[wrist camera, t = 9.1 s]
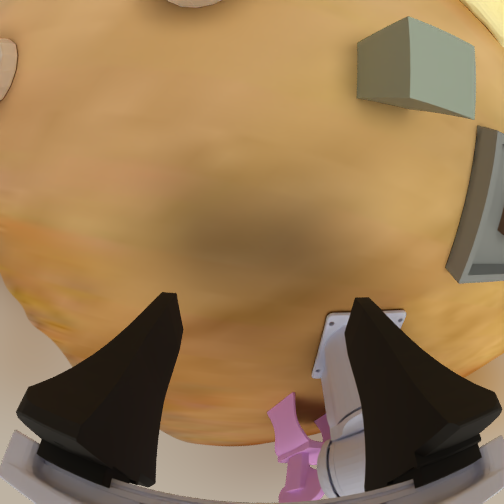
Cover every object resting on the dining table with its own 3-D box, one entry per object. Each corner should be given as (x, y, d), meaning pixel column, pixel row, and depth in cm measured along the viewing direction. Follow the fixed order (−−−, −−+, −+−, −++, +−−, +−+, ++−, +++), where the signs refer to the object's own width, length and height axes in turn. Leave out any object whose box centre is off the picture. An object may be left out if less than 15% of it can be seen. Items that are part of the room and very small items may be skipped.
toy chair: (314, 424, 35) (321, 513, 22) (262, 414, 33) (261, 514, 20) (351, 399, 31) (369, 500, 18) (297, 387, 29) (305, 507, 16)
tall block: (409, 109, 15) (474, 119, 8) (356, 98, 15) (409, 97, 9) (410, 57, 13) (474, 46, 6) (357, 42, 13) (408, 16, 7)
